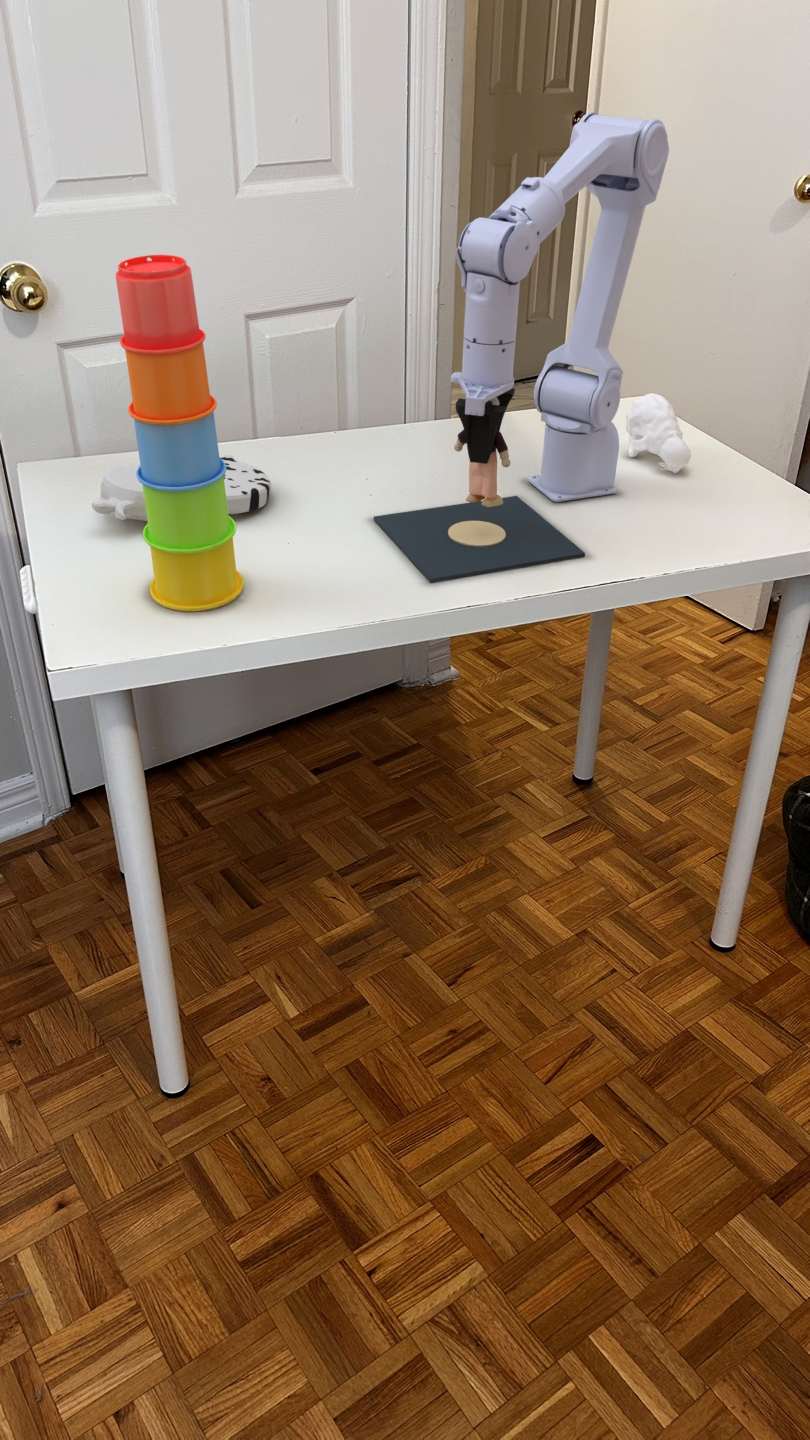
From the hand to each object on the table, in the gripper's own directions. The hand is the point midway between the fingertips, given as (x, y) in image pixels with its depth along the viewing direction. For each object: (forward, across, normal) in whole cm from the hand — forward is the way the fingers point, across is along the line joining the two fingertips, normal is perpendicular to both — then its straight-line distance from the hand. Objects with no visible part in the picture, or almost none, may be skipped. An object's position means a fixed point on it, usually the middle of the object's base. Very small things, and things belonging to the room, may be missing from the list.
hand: (481, 456), depth 131 cm
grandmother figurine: (+6, 0, 0) cm, 6 cm away
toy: (+10, +1, -37) cm, 39 cm away
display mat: (+10, 0, 0) cm, 10 cm away
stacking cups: (+10, +22, -27) cm, 37 cm away
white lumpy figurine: (+11, -32, +20) cm, 39 cm away
